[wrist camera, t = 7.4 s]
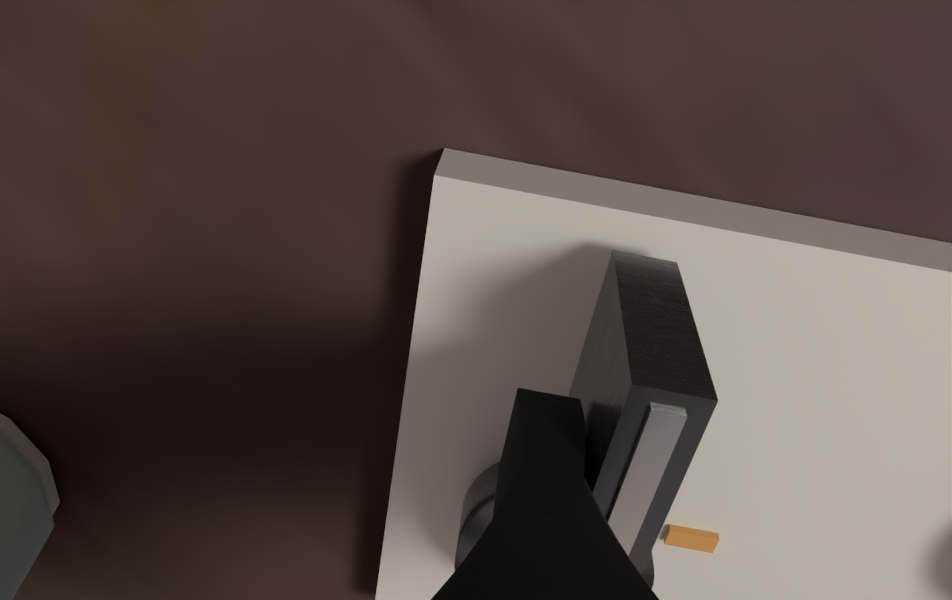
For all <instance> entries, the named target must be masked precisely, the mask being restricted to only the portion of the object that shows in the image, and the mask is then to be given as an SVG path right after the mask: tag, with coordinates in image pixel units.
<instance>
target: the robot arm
mask: <svg viewBox="0 0 952 600" xmlns="http://www.w3.org/2000/svg"><path fill="white" fill-rule="evenodd" d="M585 428H586V424H585V419H584V413H583V409H582V405H581V401H580V399H578V398H572V397H567V396H561V395H556V394H550V393H545V392H539V391H534V390H528V389H523V388H517V393H516V397H515V401H514V405H513V410H512V414H511V418H510V422H509V427H508V431H507V435H506V439H505V444H504V448H503V452H502V456H501V461H500V465H499V470H498V477H497V485H496V493H495V501H494V510H493V518H492V521H491V522H490V524H489V525H488V527H487V528H486V530H485V531H484V533H483V534H482V536H481V537H480V539H479V540H478V541H477V543H476V544H475V546H474V547H473V548H472V550H471V551H470V552H469V554H468V555H467V557H466V558H465V559H464V561H463V562H462V563H461V564H460V566H459V567H458V568H457V570H456V571H455V572H454V573H453V574H452V575H451V577H450V578H449V579H448V580H447V581H446V582H445V584H444V585H443V586H442V587H441V588H440V589H439V591H438V592H437V593H436V594H435V595H434V596H433V598H432V599H431V600H660V599H659V598H658V597H657V596H656V594H655V593H654V592H653V591H652V589H651V588H650V587H649V585H648V584H647V582H646V581H645V580H644V578H643V577H642V575H641V574H640V572H639V571H638V570H637V568H636V567H635V565H634V564H633V562H632V561H631V559H630V558H629V556H628V555H627V553H626V552H625V550H624V549H623V547H622V546H621V544H620V542H619V541H618V539H617V537H616V536H615V534H614V532H613V531H612V529H611V527H610V526H609V524H608V522H607V520H606V519H605V517H604V515H603V513H602V511H601V509H600V507H599V506H598V504H597V502H596V500H595V498H594V496H593V494H592V492H591V490H590V488H589V486H588V484H587V482H586V480H585V477H584V463H585Z"/></svg>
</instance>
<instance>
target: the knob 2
mask: <svg viewBox="0 0 952 600" xmlns="http://www.w3.org/2000/svg"><path fill="white" fill-rule="evenodd" d="M568 397H572V398H578V399H580V401H581V405H582V409H583V413H584V419H585V424H586V428H585V463H584V477H585V480H586V482H587V484H588V486H589V488H590V490H591V492H592V494H593V496H594V498H595V500H596V502H597V504H598V506H599V507H600V509H601V511H602V513H603V515H604V517H605V519H606V520H607V522H608V524H609V526H610V527H611V529H612V531H613V532H614V534H615V536H616V537H617V539H618V541H619V542H620V544H621V546H622V547H623V549H624V550H625V552H626V553H627V555H628V556H629V558H630V559H631V561H632V562H633V564H634V565H635V567H636V568H637V570H638V571H639V572H640V574H641V575H642V577H643V578H644V580H645V581H646V582H647V584H648V585H649V587H650V588H651V589H652V587H653V583H654V564H653V557H652V549H653V546H654V544H655V542H656V540H657V537H658V535H659V533H660V531H661V528H662V526H663V524H664V522H665V519H666V517H667V515H668V513H669V511H670V508H671V506H672V504H673V502H674V499H675V497H676V495H677V493H678V490H679V488H680V486H681V484H682V481H683V479H684V477H685V475H686V472H687V470H688V468H689V466H690V463H691V461H692V459H693V457H694V454H695V452H696V450H697V448H698V445H699V443H700V441H701V439H702V436H703V434H704V432H705V430H706V427H707V425H708V423H709V421H710V418H711V416H712V414H713V412H714V409H715V407H716V405H717V403H718V398H717V395H716V391H715V388H714V385H713V381H712V378H711V374H710V371H709V368H708V364H707V361H706V358H705V354H704V351H703V348H702V344H701V341H700V337H699V334H698V331H697V327H696V324H695V321H694V317H693V314H692V311H691V307H690V304H689V300H688V297H687V294H686V290H685V287H684V284H683V280H682V277H681V273H680V270H679V267H678V263H677V262H673V261H668V260H663V259H657V258H652V257H647V256H642V255H637V254H632V253H627V252H622V251H617V250H612V254H611V257H610V260H609V263H608V267H607V270H606V273H605V277H604V280H603V283H602V286H601V290H600V293H599V296H598V300H597V303H596V306H595V309H594V313H593V316H592V319H591V323H590V326H589V329H588V332H587V336H586V339H585V342H584V346H583V349H582V352H581V355H580V359H579V362H578V365H577V369H576V372H575V375H574V378H573V382H572V385H571V388H570V392H569V395H568ZM499 465H500V461H499V462H497V463H495V464H493V465H492V466H490V467H489V468H487V469H486V470H485V471H483V472H482V473H481V474H480V475H479V476H478V477H477V478H476V479H475V480H474V482H473V483H472V484H471V485H470V487H469V489H468V491H467V493H466V495H465V498H464V501H463V507H462V514H461V521H460V528H459V535H458V542H457V549H456V556H455V563H454V568H455V571H456V570H457V568H458V567H459V566H460V564H461V563H462V562H463V561H464V559H465V558H466V557H467V555H468V554H469V552H470V551H471V550H472V548H473V547H474V546H475V544H476V543H477V541H478V540H479V539H480V537H481V536H482V534H483V533H484V531H485V530H486V528H487V527H488V525H489V524H490V522H491V521H492V518H493V510H494V501H495V493H496V485H497V477H498V470H499Z"/></svg>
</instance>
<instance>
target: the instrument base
mask: <svg viewBox="0 0 952 600" xmlns="http://www.w3.org/2000/svg"><path fill="white" fill-rule="evenodd" d="M612 250H617V251H622V252H627V253H632V254H637V255H642V256H647V257H652V258H657V259H663V260H668V261H673V262H677V263H678V267H679V270H680V273H681V277H682V280H683V284H684V287H685V290H686V294H687V297H688V300H689V304H690V307H691V311H692V314H693V317H694V321H695V324H696V327H697V331H698V334H699V337H700V341H701V344H702V348H703V351H704V354H705V358H706V361H707V364H708V368H709V371H710V374H711V378H712V381H713V385H714V388H715V391H716V395H717V398H718V403H717V405H716V407H715V409H714V412H713V414H712V416H711V418H710V421H709V423H708V425H707V427H706V430H705V432H704V434H703V436H702V439H701V441H700V443H699V445H698V448H697V450H696V452H695V454H694V457H693V459H692V461H691V463H690V466H689V468H688V470H687V472H686V475H685V477H684V479H683V481H682V484H681V486H680V488H679V490H678V493H677V495H676V497H675V499H674V502H673V504H672V506H671V508H670V511H669V513H668V515H667V517H666V519H665V522H664V524H663V526H662V528H661V531H660V533H659V535H658V537H657V540H656V542H655V544H654V546H653V549H652V557H653V564H654V583H653V587H652V591H653V592H654V593H655V594H656V596H657V597H658V598H659V599H660V600H952V243H948V242H942V241H937V240H932V239H926V238H921V237H916V236H910V235H905V234H900V233H894V232H889V231H884V230H878V229H873V228H868V227H862V226H857V225H852V224H846V223H841V222H836V221H830V220H825V219H820V218H814V217H809V216H804V215H798V214H793V213H788V212H783V211H777V210H772V209H767V208H761V207H756V206H751V205H745V204H740V203H735V202H729V201H724V200H719V199H713V198H708V197H703V196H697V195H692V194H687V193H681V192H676V191H671V190H665V189H660V188H655V187H649V186H644V185H639V184H633V183H628V182H623V181H617V180H612V179H607V178H602V177H596V176H591V175H586V174H580V173H575V172H570V171H564V170H559V169H554V168H548V167H543V166H538V165H532V164H527V163H522V162H516V161H511V160H506V159H500V158H495V157H490V156H484V155H479V154H474V153H468V152H463V151H458V150H452V149H447V148H444V151H443V153H442V156H441V159H440V161H439V164H438V166H437V169H436V171H435V174H434V179H433V187H432V194H431V201H430V208H429V215H428V223H427V230H426V237H425V244H424V251H423V259H422V266H421V273H420V280H419V288H418V295H417V302H416V309H415V316H414V324H413V331H412V338H411V345H410V352H409V360H408V367H407V374H406V381H405V388H404V396H403V403H402V410H401V417H400V424H399V432H398V439H397V446H396V453H395V461H394V468H393V475H392V482H391V489H390V497H389V504H388V511H387V518H386V525H385V533H384V540H383V547H382V554H381V561H380V569H379V576H378V583H377V590H376V597H375V600H431V599H432V598H433V596H434V595H435V594H436V593H437V592H438V591H439V589H440V588H441V587H442V586H443V585H444V584H445V582H446V581H447V580H448V579H449V578H450V577H451V575H452V574H453V573H454V572H455V568H454V563H455V556H456V549H457V542H458V535H459V528H460V521H461V514H462V507H463V501H464V498H465V495H466V493H467V491H468V489H469V487H470V485H471V484H472V483H473V482H474V480H475V479H476V478H477V477H478V476H479V475H480V474H481V473H482V472H483V471H485V470H486V469H487V468H489V467H490V466H492V465H493V464H495V463H497V462H499V461H501V456H502V452H503V448H504V444H505V439H506V435H507V431H508V427H509V422H510V418H511V414H512V410H513V405H514V401H515V397H516V393H517V388H523V389H528V390H534V391H539V392H545V393H550V394H556V395H561V396H567V397H568V395H569V392H570V388H571V385H572V382H573V378H574V375H575V372H576V369H577V365H578V362H579V359H580V355H581V352H582V349H583V346H584V342H585V339H586V336H587V332H588V329H589V326H590V323H591V319H592V316H593V313H594V309H595V306H596V303H597V300H598V296H599V293H600V290H601V286H602V283H603V280H604V277H605V273H606V270H607V267H608V263H609V260H610V257H611V254H612Z"/></svg>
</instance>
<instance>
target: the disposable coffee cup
mask: <svg viewBox="0 0 952 600" xmlns="http://www.w3.org/2000/svg"><path fill="white" fill-rule="evenodd" d="M59 503H60V499H59V496H58V492H57V489H56V485H55V482H54V478H53V475H52V471H51V468H50V464H49V461H48V460H47V459H46V458H45V456H44V455H43V454H42V453H41V452H40V451H39V450H38V449H37V448H36V447H35V446H34V444H33V443H32V442H31V441H30V440H29V439H28V438H27V437H26V436H25V435H24V434H23V433H22V431H21V430H20V429H19V428H18V427H17V426H16V425H15V424H14V423H13V422H12V421H11V420H10V419H9V418H8V417H6V416H4V415H2V414H0V600H13V598H14V597H15V595H16V593H17V591H18V590H19V588H20V586H21V584H22V583H23V581H24V579H25V577H26V576H27V574H28V572H29V571H30V569H31V567H32V565H33V564H34V562H35V560H36V558H37V557H38V555H39V553H40V551H41V549H42V548H43V546H44V544H45V542H46V540H47V539H48V537H49V535H50V533H51V531H52V530H53V528H54V526H55V524H54V521H53V518H52V516H53V514H54V512H55V511H56V509H57V507H58V505H59Z"/></svg>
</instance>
